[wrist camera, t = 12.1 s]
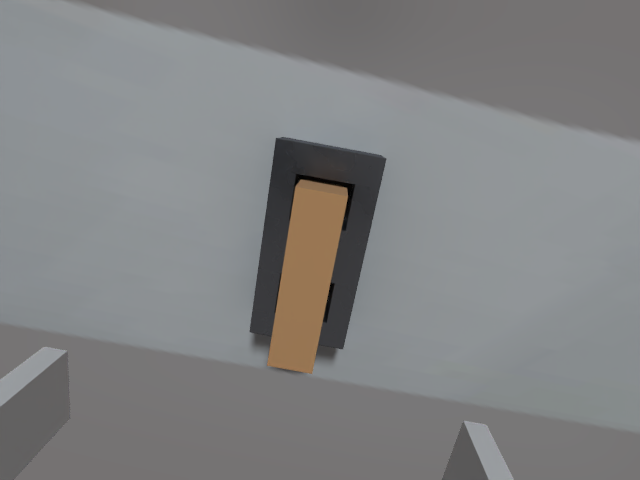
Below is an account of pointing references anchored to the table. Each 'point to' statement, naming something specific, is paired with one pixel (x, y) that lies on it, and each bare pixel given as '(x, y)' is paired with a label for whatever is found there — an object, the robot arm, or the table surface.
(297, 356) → the notched wooden block
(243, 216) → the table surface
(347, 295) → the slotted gray block
